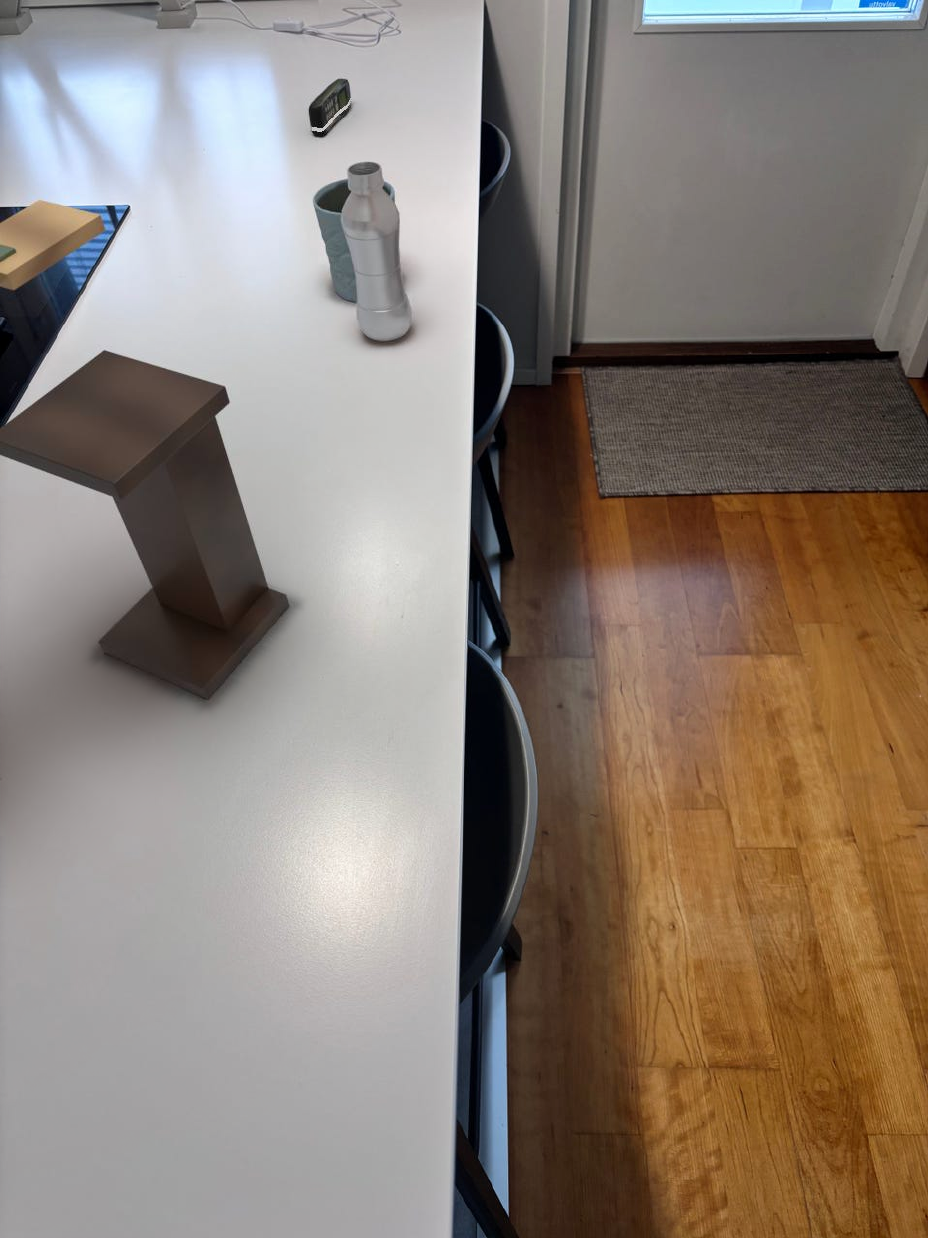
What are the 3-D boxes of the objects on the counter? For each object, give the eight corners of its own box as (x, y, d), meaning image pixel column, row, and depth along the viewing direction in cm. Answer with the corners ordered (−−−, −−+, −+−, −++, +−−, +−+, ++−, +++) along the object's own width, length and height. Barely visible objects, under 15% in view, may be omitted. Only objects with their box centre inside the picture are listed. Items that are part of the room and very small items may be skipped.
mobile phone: (320, 107, 154) (353, 70, 163) (303, 106, 154) (337, 69, 163) (326, 139, 158) (358, 101, 167) (309, 138, 158) (342, 100, 167)
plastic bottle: (413, 346, 115) (394, 179, 100) (357, 349, 115) (330, 183, 100) (414, 317, 119) (396, 153, 104) (361, 320, 119) (335, 157, 104)
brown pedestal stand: (208, 699, 81) (114, 483, 63) (103, 652, 85) (-13, 437, 67) (289, 605, 88) (225, 385, 70) (188, 566, 92) (104, 349, 74)
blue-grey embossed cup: (351, 313, 121) (336, 221, 112) (314, 281, 126) (297, 191, 117) (419, 287, 124) (409, 195, 115) (380, 257, 130) (368, 168, 121)
